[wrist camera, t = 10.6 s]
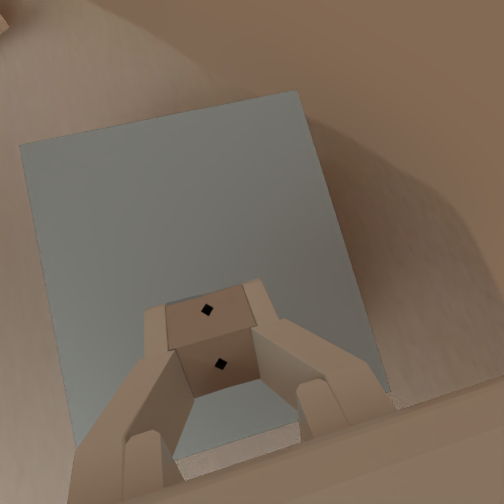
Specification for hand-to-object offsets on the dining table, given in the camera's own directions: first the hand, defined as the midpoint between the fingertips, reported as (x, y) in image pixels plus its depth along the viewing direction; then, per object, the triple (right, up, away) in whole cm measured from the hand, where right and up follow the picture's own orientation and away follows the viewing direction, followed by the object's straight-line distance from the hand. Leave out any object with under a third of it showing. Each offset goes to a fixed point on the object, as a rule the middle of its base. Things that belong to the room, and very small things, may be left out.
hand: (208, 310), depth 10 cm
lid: (-1, +1, +10) cm, 10 cm away
